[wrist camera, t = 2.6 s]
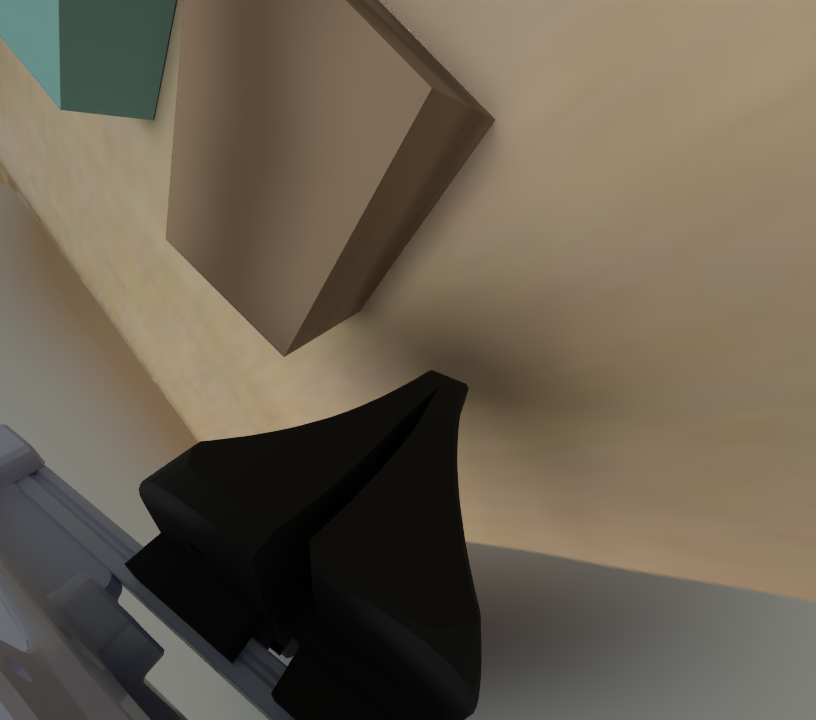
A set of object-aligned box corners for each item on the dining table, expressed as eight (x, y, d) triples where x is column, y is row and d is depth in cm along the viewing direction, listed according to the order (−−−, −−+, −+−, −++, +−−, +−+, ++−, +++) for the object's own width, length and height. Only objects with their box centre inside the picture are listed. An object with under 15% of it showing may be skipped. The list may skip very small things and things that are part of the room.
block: (496, 120, 10) (431, 88, 6) (361, 310, 15) (283, 356, 12) (355, -24, 10) (195, -152, 6) (272, 221, 15) (165, 239, 11)
